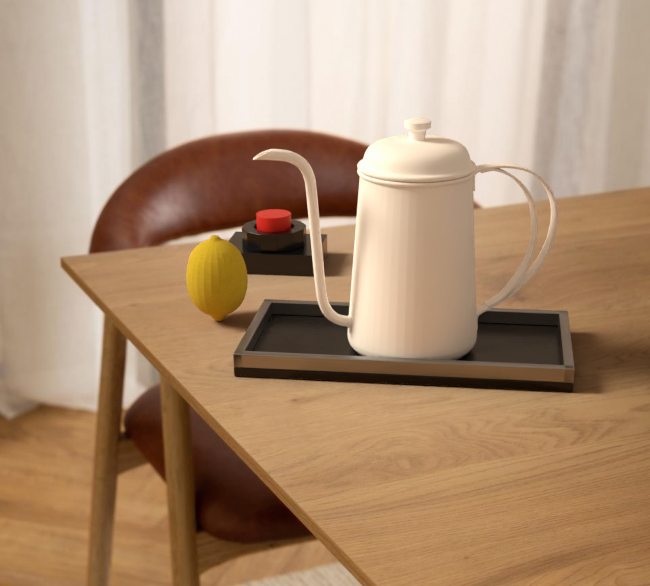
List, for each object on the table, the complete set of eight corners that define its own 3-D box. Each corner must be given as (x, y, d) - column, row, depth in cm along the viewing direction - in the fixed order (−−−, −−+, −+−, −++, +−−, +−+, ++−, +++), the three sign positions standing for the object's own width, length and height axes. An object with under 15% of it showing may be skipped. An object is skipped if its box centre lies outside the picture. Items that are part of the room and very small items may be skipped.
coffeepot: (250, 337, 103) (241, 113, 94) (523, 314, 107) (539, 99, 98) (271, 385, 93) (263, 141, 84) (569, 358, 98) (591, 124, 89)
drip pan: (566, 331, 106) (567, 310, 105) (572, 392, 93) (574, 369, 92) (265, 319, 109) (264, 298, 108) (234, 376, 97) (232, 353, 96)
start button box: (327, 254, 127) (327, 217, 125) (316, 277, 120) (316, 238, 118) (236, 251, 128) (234, 214, 127) (220, 273, 121) (218, 235, 120)
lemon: (244, 308, 112) (240, 225, 108) (253, 328, 107) (250, 241, 103) (185, 313, 111) (180, 229, 107) (192, 333, 106) (186, 246, 102)
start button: (294, 226, 124) (293, 209, 123) (288, 235, 121) (287, 218, 120) (260, 224, 124) (259, 208, 124) (253, 234, 121) (253, 217, 120)
